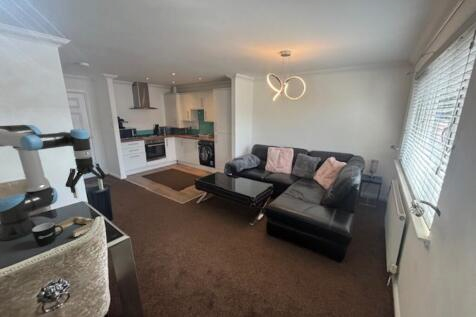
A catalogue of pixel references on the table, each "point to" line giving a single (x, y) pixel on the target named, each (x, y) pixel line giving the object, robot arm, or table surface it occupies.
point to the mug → (45, 233)
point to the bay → (76, 220)
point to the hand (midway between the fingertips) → (89, 193)
